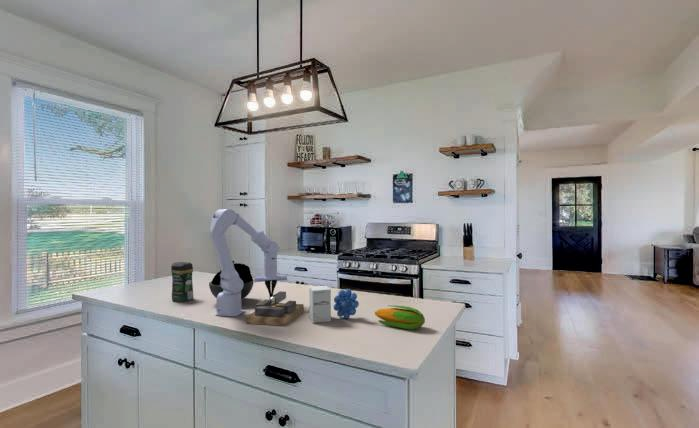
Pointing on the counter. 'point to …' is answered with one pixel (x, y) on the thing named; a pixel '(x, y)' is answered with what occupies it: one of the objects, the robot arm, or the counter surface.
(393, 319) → the corn
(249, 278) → the coal bowl
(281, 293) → the hinged leg
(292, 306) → the wooden board with bars
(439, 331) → the counter surface
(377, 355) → the counter surface
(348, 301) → the grapes
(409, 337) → the counter surface
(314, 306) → the supplement box
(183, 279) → the coffee jar
